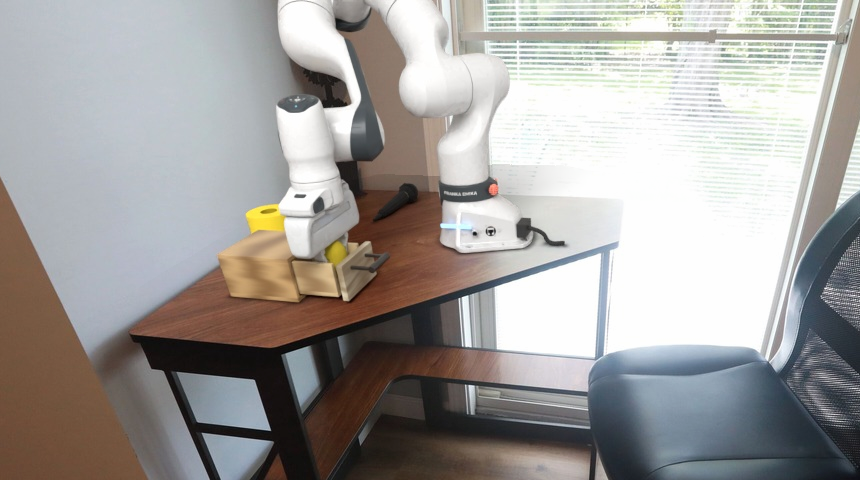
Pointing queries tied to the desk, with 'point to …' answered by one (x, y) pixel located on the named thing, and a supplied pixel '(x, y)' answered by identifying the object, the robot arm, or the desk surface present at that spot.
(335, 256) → the lemon
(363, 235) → the desk surface
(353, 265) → the drawer
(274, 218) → the tape roll
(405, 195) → the microphone
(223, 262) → the cabinet
